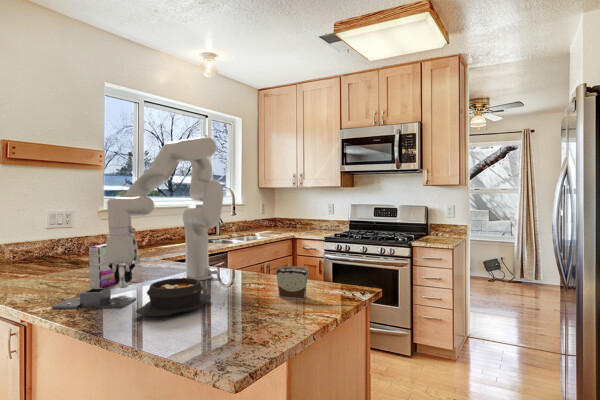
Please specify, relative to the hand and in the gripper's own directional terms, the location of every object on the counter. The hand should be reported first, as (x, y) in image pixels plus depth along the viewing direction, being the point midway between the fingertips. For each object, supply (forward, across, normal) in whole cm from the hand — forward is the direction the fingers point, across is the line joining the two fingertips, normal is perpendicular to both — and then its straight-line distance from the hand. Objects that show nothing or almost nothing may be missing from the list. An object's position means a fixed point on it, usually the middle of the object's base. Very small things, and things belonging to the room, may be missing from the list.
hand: (123, 281), depth 138 cm
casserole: (+5, -25, +18) cm, 31 cm away
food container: (+6, -62, +3) cm, 63 cm away
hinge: (+4, +4, +12) cm, 13 cm away
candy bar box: (+5, +15, -14) cm, 21 cm away
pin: (+2, 0, 0) cm, 2 cm away
